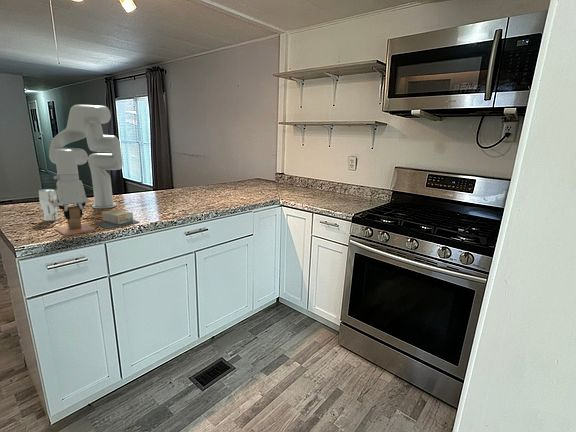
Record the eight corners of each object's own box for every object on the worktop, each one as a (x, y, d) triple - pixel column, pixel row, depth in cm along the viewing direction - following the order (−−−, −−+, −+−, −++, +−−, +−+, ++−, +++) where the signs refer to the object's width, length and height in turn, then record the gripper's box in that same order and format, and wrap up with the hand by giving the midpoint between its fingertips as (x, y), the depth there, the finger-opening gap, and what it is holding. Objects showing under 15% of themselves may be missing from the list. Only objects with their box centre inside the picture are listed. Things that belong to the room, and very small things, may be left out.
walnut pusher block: (68, 227, 141) (65, 206, 139) (78, 225, 144) (76, 205, 142) (71, 229, 139) (69, 208, 136) (81, 228, 142) (79, 207, 139)
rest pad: (55, 229, 141) (55, 228, 141) (85, 224, 150) (85, 223, 150) (64, 235, 134) (64, 234, 133) (95, 230, 143) (95, 228, 143)
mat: (94, 223, 153) (94, 222, 153) (127, 217, 165) (127, 217, 165) (105, 228, 145) (105, 228, 145) (139, 222, 157) (139, 221, 157)
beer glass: (51, 221, 153) (46, 191, 149) (39, 220, 154) (34, 190, 150) (63, 218, 159) (59, 189, 155) (51, 217, 160) (47, 188, 157)
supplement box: (102, 220, 156) (118, 224, 150) (101, 211, 155) (117, 215, 149) (117, 217, 164) (133, 221, 158) (116, 208, 162) (132, 212, 156)
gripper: (48, 180, 127) (54, 223, 132) (93, 177, 140) (97, 216, 144) (42, 178, 132) (49, 219, 136) (86, 175, 144) (91, 213, 149)
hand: (73, 217), depth 140 cm, fingers closed on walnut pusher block, 4 cm apart
